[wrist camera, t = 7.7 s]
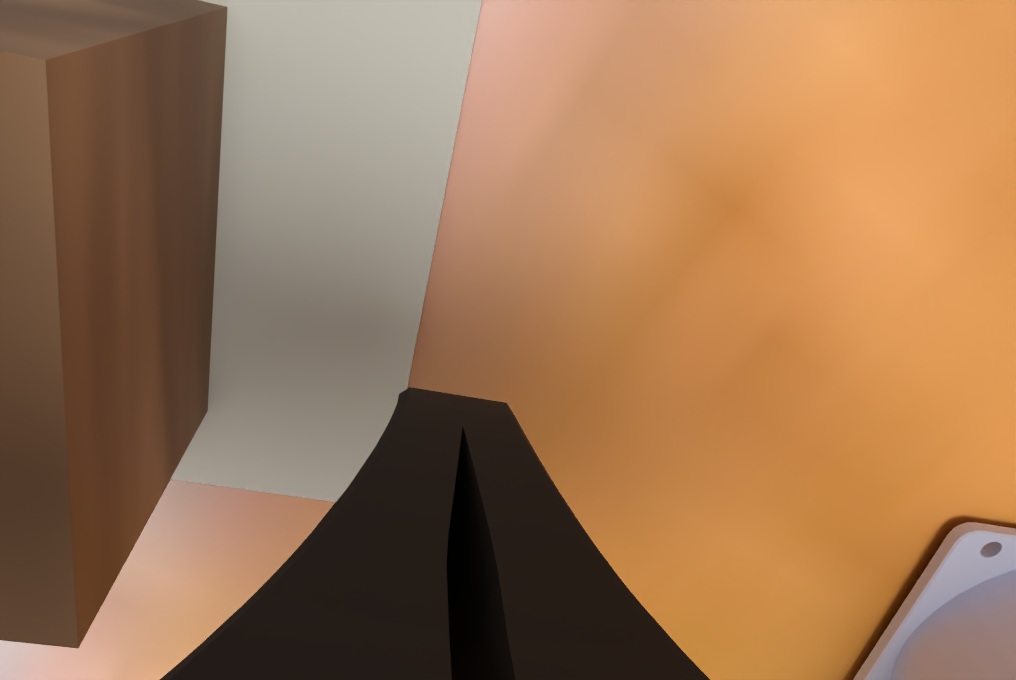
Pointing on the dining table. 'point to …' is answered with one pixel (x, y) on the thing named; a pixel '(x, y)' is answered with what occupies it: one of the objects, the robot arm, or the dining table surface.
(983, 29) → the dining table surface
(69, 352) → the tile
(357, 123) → the mat
